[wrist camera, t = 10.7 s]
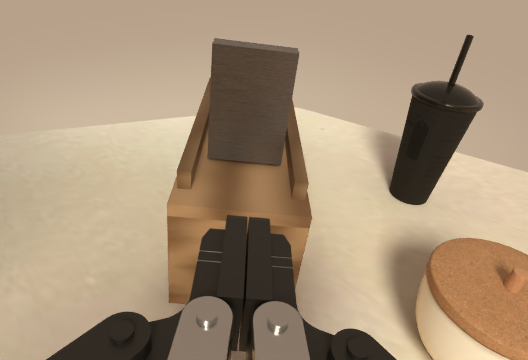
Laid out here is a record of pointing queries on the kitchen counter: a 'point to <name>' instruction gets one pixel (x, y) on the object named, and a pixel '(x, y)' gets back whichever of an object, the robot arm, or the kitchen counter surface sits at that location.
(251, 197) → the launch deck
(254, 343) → the robot arm
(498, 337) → the lidded jar
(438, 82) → the drinking cup
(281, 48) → the plunger
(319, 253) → the kitchen counter surface
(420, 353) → the kitchen counter surface
